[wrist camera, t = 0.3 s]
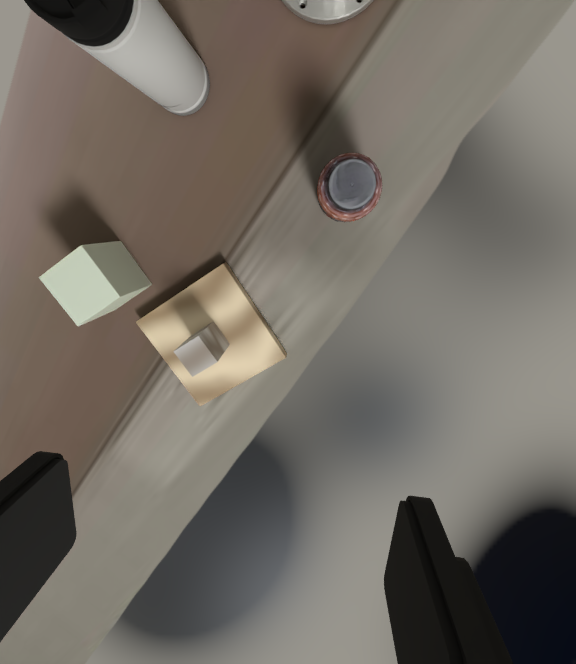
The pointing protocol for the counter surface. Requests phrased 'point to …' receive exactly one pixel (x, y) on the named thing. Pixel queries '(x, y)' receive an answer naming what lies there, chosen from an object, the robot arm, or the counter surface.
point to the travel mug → (134, 46)
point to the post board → (230, 321)
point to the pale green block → (95, 280)
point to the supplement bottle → (349, 187)
